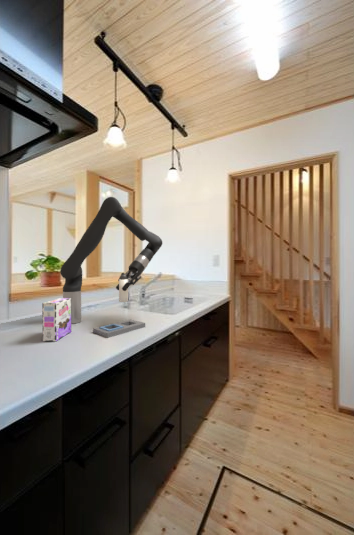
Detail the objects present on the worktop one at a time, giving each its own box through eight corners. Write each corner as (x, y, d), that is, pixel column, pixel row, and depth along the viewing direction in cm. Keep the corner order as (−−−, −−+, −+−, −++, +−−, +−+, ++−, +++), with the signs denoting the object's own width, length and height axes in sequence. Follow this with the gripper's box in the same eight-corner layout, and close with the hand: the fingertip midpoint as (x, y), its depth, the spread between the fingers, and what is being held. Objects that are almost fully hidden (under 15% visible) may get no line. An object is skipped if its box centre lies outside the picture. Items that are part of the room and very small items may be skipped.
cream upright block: (117, 301, 113) (117, 275, 113) (124, 300, 116) (124, 274, 116) (122, 302, 110) (122, 275, 110) (129, 301, 114) (129, 275, 113)
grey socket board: (93, 332, 107) (93, 327, 107) (130, 322, 124) (130, 318, 124) (107, 337, 99) (107, 332, 99) (145, 326, 116) (145, 321, 116)
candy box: (55, 342, 94) (55, 302, 94) (42, 341, 95) (41, 302, 94) (72, 331, 108) (71, 297, 108) (59, 331, 108) (59, 297, 108)
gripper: (126, 259, 123) (107, 283, 114) (144, 259, 114) (125, 285, 105) (134, 269, 127) (116, 293, 118) (152, 270, 118) (133, 295, 109)
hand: (120, 289), depth 112 cm, fingers closed on cream upright block, 4 cm apart
